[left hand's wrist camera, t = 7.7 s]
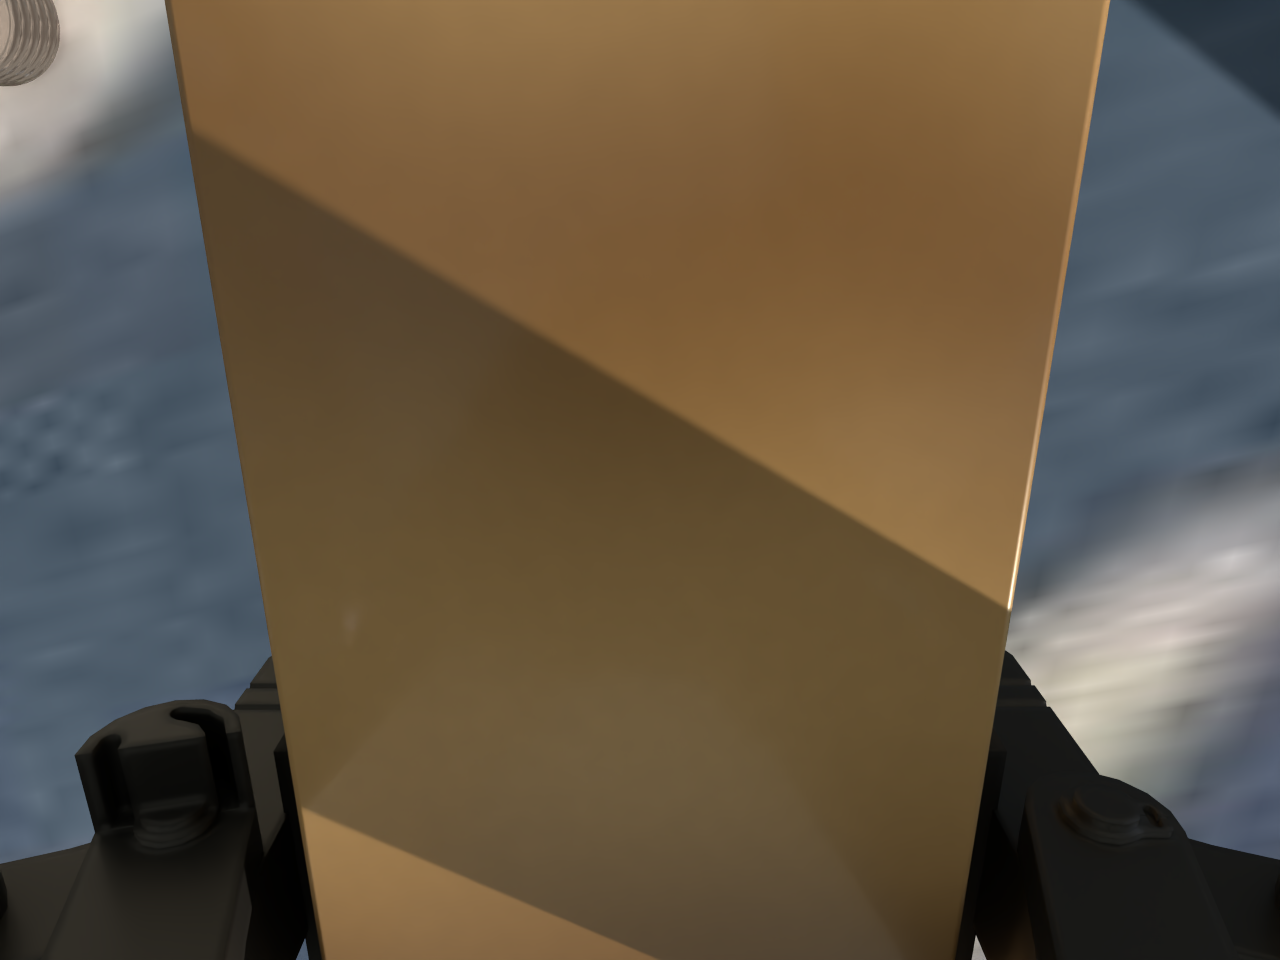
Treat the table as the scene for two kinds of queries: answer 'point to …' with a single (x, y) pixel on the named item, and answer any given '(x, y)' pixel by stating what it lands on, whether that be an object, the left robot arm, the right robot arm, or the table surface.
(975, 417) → the bar
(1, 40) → the light bulb
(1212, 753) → the table surface
